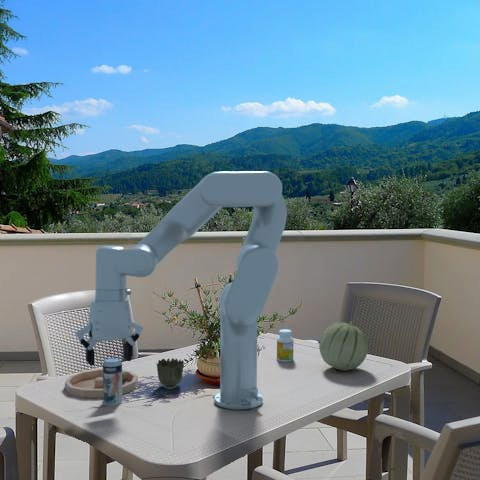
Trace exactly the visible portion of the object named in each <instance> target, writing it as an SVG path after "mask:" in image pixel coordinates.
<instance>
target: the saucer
mask: <svg viewBox="0 0 480 480" xmlns="http://www.w3.org/2000/svg"><path fill="white" fill-rule="evenodd" d="M122 371H124V372H125V373H126V374H127V381H126V382H125V383H124V384H122V395H125V394H128V393H129V392H131V391H133V390H136V387H137V386H138V383H139V381H138V380H139V379H138V377H139V376H138V375H137V374H135V373H133V371H130V370H125V369H122ZM64 390H65V391H66V392H67V393H68V394H69V395H70V396H73V397H74V396H75V397H79V398H85V399H87V398H88V399H96V398H97V399H100V398H102V399H103V368H100V369H99V368H97V369H91V370H85V371H81V372H78V373H76V374H72V375H70V376H68V378H67V379H65V381H64Z"/></svg>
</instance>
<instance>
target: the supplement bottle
mask: <svg viewBox="0 0 480 480" xmlns="http://www.w3.org/2000/svg"><path fill="white" fill-rule="evenodd" d="M278 335H279V336H278V337H277V338H276V360H277V361H279V362H281V363H289V362H290V363H291V362H293V361H294V337H292V330H291V329H285V328H284V329H283V328H282V329H280V330H278Z"/></svg>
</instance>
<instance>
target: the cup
mask: <svg viewBox="0 0 480 480" xmlns="http://www.w3.org/2000/svg"><path fill="white" fill-rule="evenodd" d="M184 363H185V362H184V359H182V360H181V359H179V360H178V359H177V358H174V357H172V358H171V360H170V358H167V360H166V359H165V358H161V360H160V359H158V361H157V362H156V363H155V364H156V370H157V376H158V380H159V383H161V385H163V388H164V389H167V390H168V389H169V390H171V389H175V388H177V387H178V384H179V383H181V380H182V377H183V372H184Z"/></svg>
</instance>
